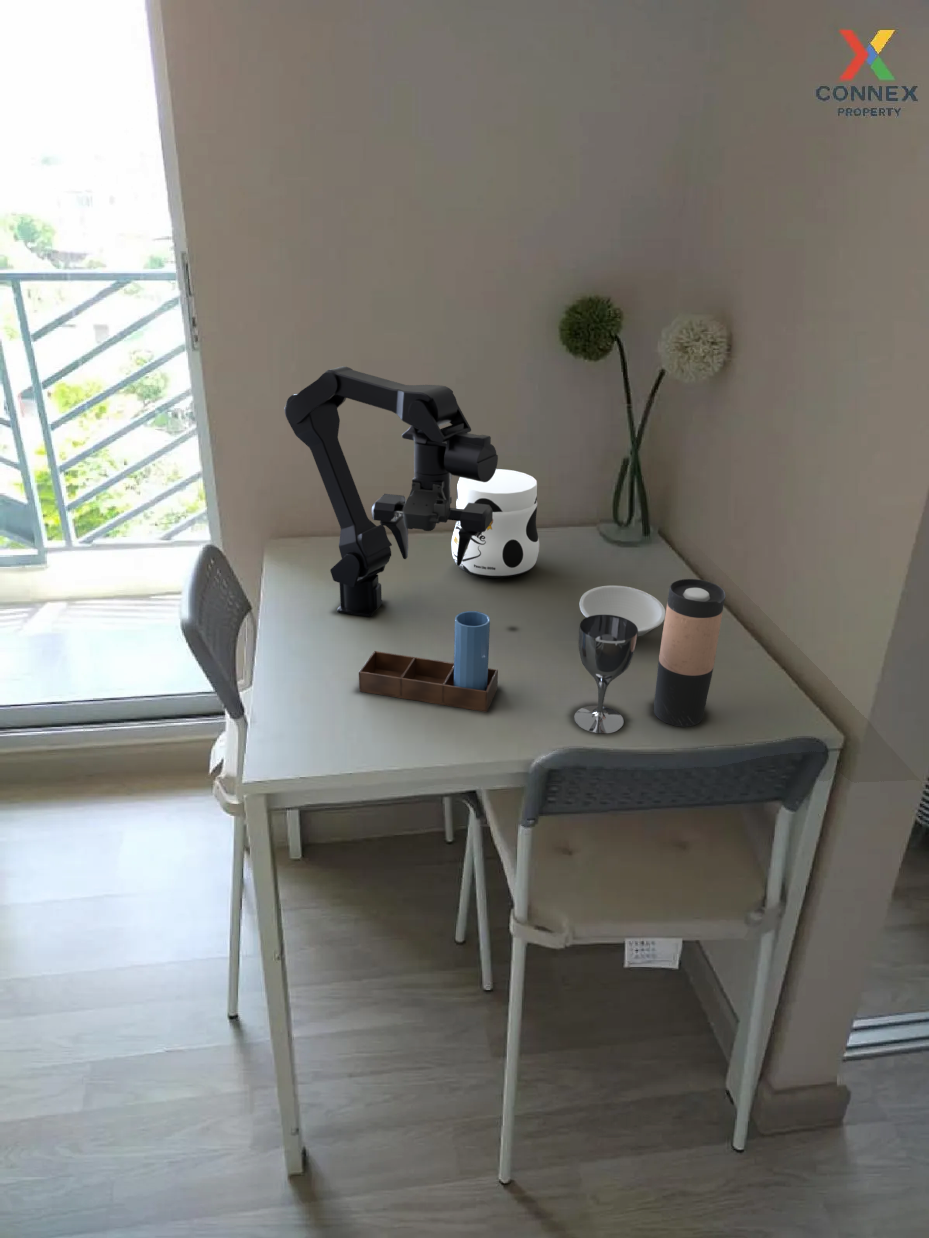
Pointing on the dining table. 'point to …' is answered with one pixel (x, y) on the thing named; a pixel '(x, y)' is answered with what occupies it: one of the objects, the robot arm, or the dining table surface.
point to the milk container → (500, 525)
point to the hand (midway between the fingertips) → (432, 561)
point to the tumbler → (471, 650)
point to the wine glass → (604, 665)
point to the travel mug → (688, 651)
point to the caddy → (422, 681)
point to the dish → (624, 606)
